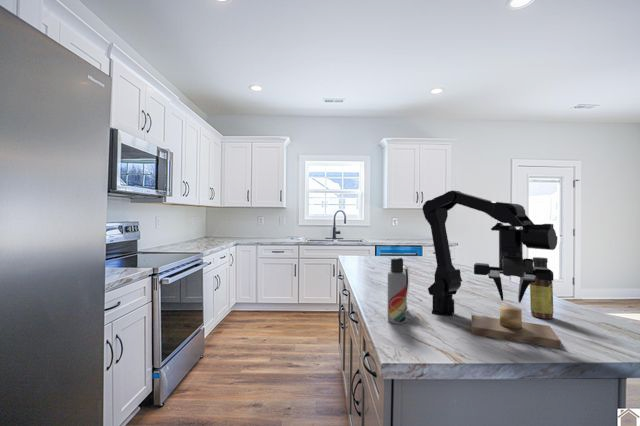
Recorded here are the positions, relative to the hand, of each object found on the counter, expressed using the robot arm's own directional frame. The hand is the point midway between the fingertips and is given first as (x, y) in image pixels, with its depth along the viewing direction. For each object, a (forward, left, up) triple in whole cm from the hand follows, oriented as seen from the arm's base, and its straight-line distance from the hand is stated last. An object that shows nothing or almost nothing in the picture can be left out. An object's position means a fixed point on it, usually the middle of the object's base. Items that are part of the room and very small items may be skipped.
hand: (510, 301), depth 84 cm
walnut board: (0, 0, -9) cm, 9 cm away
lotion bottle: (-31, -6, -9) cm, 33 cm away
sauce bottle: (+11, +23, -9) cm, 27 cm away
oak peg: (0, 0, -9) cm, 9 cm away
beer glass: (-33, +7, -9) cm, 35 cm away
